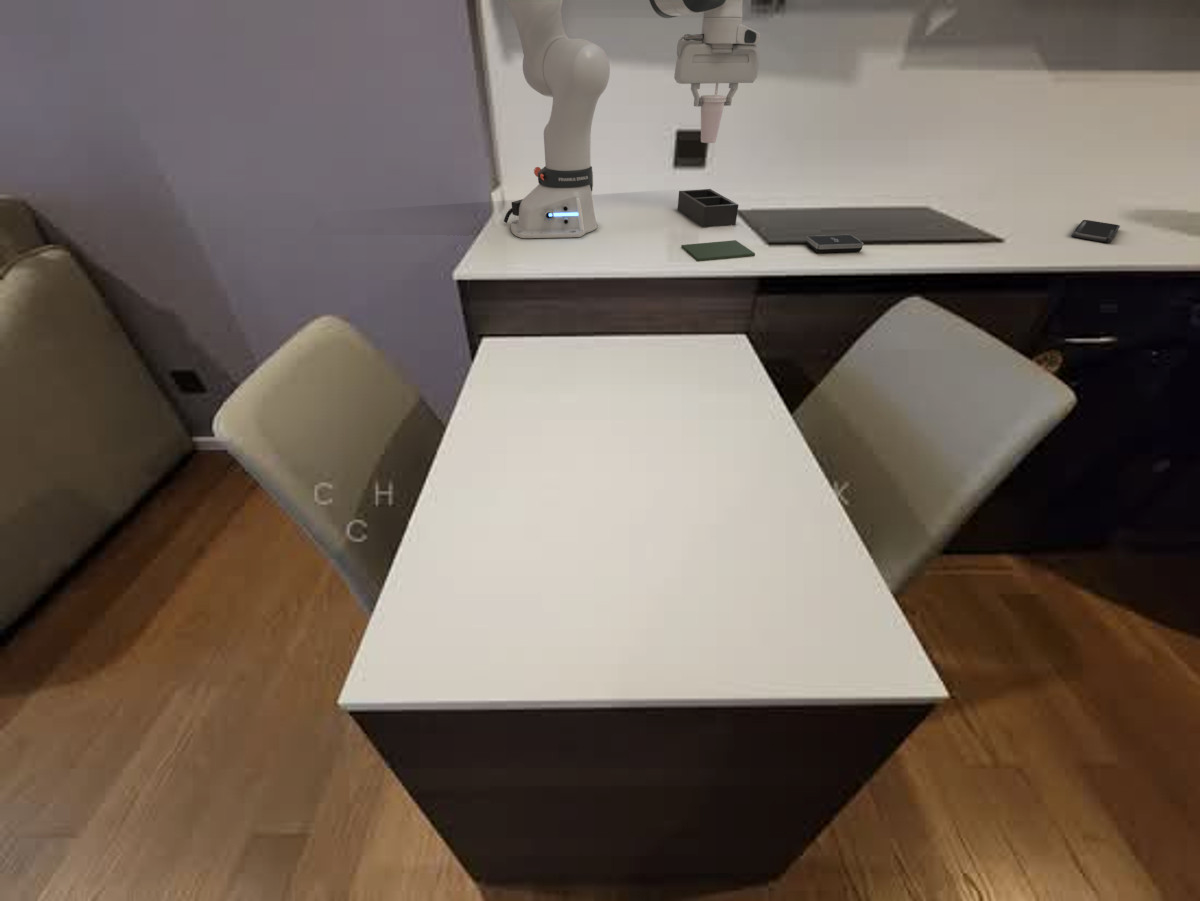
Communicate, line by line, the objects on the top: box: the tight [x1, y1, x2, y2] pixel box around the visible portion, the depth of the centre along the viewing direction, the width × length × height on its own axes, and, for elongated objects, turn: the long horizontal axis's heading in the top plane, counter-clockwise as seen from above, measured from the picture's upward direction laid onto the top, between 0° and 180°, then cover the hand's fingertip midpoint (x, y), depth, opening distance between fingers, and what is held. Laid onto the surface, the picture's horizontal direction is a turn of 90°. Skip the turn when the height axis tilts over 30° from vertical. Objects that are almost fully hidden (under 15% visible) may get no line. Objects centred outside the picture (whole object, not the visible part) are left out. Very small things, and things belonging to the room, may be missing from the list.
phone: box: [1071, 219, 1121, 244], centre depth 131 cm, size 8×1×15 cm
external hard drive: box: [805, 234, 864, 254], centre depth 123 cm, size 7×11×2 cm, turn 95°
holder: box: [677, 188, 739, 228], centre depth 143 cm, size 18×10×5 cm, turn 14°
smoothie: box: [699, 83, 727, 144], centre depth 130 cm, size 6×6×14 cm
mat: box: [680, 239, 756, 262], centre depth 122 cm, size 14×10×1 cm
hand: (712, 106), depth 129 cm, fingers closed on smoothie, 6 cm apart
